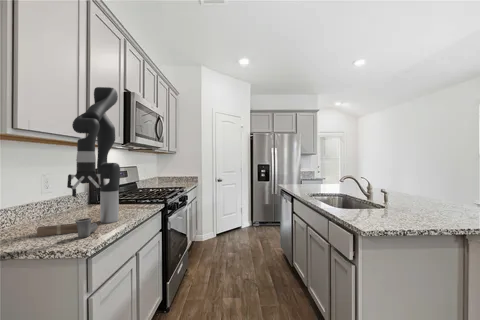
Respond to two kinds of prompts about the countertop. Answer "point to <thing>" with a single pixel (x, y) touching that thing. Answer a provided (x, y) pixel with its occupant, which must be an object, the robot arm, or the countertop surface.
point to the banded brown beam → (56, 229)
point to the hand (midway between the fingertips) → (86, 196)
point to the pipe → (85, 227)
